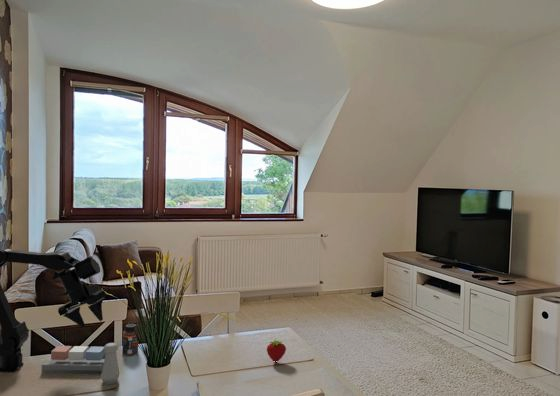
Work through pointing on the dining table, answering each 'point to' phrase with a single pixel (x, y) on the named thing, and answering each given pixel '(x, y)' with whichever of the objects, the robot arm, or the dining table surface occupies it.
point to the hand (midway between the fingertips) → (92, 323)
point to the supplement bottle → (129, 341)
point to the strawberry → (276, 350)
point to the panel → (74, 366)
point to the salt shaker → (110, 364)
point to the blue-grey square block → (95, 353)
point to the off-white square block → (77, 353)
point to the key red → (60, 352)
